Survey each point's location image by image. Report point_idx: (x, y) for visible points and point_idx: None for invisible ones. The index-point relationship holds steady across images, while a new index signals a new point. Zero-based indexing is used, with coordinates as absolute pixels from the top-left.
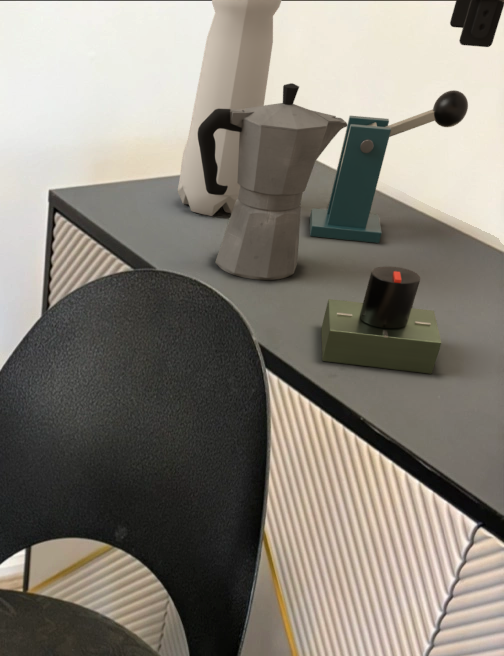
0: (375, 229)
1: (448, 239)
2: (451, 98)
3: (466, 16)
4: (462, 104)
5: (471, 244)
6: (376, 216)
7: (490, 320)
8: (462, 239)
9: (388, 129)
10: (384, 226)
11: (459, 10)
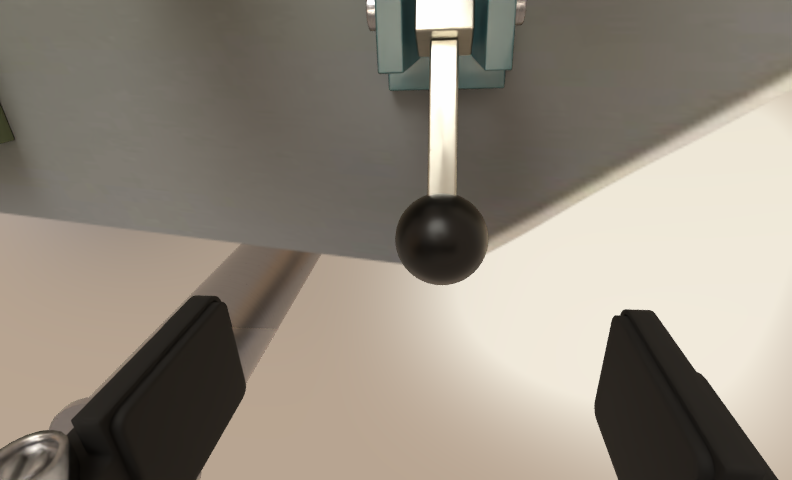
0: (405, 78)
1: None
2: (408, 244)
3: (148, 357)
4: (406, 268)
5: None
6: (490, 82)
7: (136, 228)
8: None
9: (378, 65)
10: (498, 102)
11: (638, 372)
